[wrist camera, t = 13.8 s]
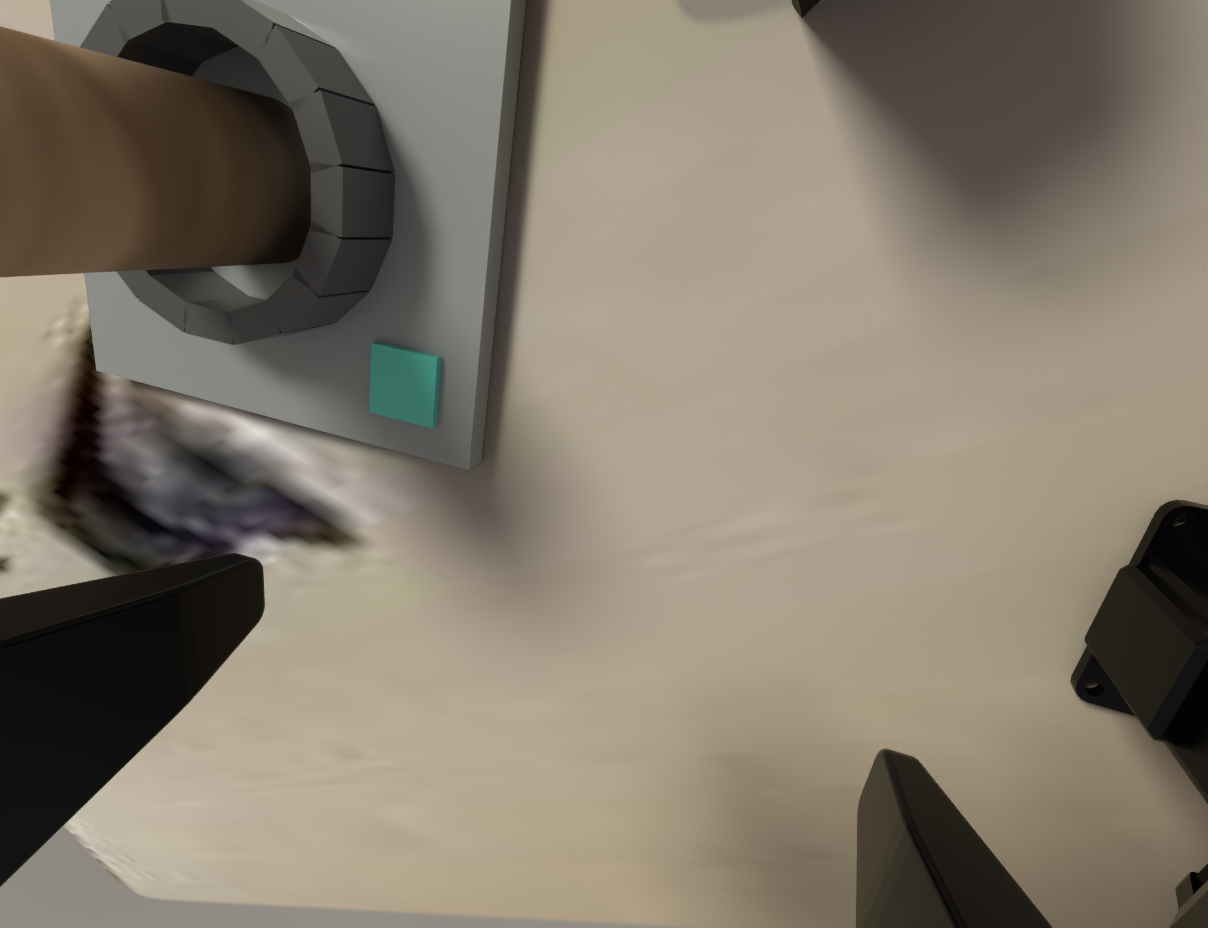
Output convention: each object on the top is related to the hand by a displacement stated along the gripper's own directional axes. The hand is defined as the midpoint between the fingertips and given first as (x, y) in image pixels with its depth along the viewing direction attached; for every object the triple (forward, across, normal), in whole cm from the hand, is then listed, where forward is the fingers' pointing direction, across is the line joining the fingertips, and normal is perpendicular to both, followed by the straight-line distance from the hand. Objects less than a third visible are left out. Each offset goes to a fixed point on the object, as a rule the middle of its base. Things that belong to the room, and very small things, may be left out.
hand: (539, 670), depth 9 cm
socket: (+13, +15, -5) cm, 20 cm away
